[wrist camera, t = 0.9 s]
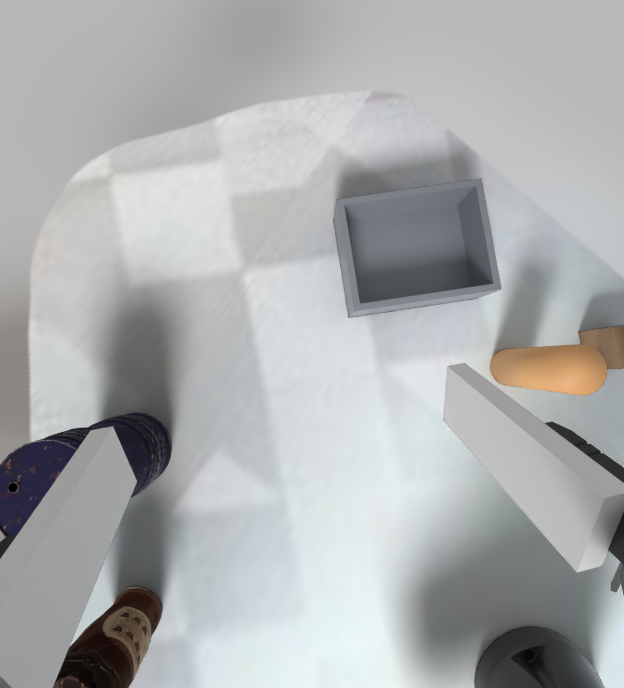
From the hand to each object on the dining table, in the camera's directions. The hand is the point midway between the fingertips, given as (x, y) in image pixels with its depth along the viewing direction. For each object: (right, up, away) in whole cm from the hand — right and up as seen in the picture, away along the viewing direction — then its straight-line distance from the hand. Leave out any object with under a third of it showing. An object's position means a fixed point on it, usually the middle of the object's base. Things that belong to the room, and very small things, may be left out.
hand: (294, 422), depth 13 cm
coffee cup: (-22, -31, +30) cm, 48 cm away
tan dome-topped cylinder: (+27, 0, +31) cm, 41 cm away
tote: (+13, +15, +32) cm, 37 cm away
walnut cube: (+40, +3, +32) cm, 51 cm away
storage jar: (-23, -11, +31) cm, 40 cm away
